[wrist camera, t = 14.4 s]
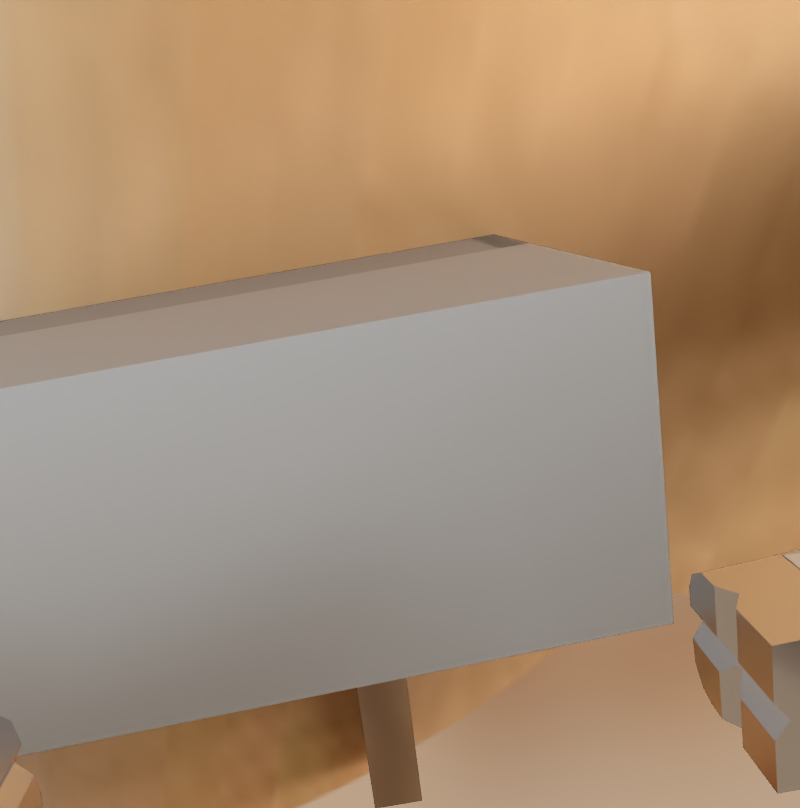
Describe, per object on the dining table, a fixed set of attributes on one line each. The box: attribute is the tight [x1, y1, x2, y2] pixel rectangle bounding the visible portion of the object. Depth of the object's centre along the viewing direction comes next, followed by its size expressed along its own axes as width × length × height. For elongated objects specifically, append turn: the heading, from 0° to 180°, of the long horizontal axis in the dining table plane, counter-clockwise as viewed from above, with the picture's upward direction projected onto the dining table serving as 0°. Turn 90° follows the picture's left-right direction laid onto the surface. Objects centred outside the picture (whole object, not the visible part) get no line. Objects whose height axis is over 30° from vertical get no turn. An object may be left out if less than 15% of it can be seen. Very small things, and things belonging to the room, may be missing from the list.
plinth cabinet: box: [0, 235, 674, 757], centre depth 28 cm, size 24×12×18 cm, turn 100°
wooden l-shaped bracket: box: [357, 678, 422, 808], centre depth 38 cm, size 10×14×5 cm
